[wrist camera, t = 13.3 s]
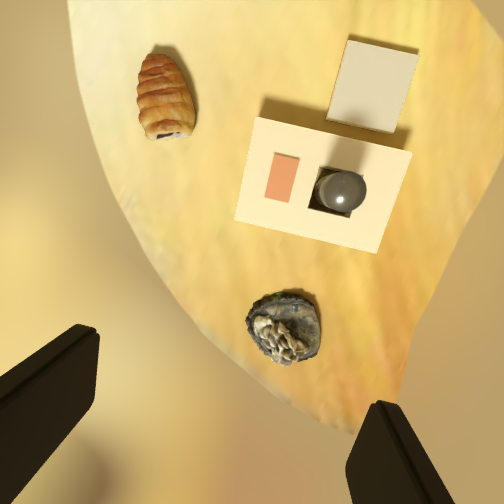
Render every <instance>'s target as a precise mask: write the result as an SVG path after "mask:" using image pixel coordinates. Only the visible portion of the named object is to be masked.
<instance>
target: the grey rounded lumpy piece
mask: <svg viewBox="0 0 504 504" xmlns="http://www.w3.org/2000/svg"><path fill="white" fill-rule="evenodd" d="M245 321H246V324H247V326H248V332H249V334H250V335H251V337H252V338H253V340H254V342H255V343H256V344H257V346H258V347H259V349H260V350H261V351H262V352H264V354H265V355H266V356H270V357H272V358H271V359H272V361H273V362H275V363H281V365H283V366H290V365H291V363H292V360H293V361H297V362H300V361H303V360H307V359H308V358H312V357H314V356H316V355H317V353H318V350H319V348H320V343H321V338H320V325H319V321H318V317H317V314H316V311H315V309H314V305H313V304H312V303H311V302H310V301H309V300H308V299H305V298H304V297H302V296H301V295H299V294H292V293H285V292H281V293H275V294H274V295H271V296H267V297H263V298H262V299H261V300H259V301H257V302H255V303H253V308H252V309H250V311H249V313H248V317H246V320H245Z"/></svg>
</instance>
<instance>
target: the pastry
mask: <svg viewBox="0 0 504 504" xmlns="http://www.w3.org/2000/svg"><path fill="white" fill-rule="evenodd" d="M138 80H139V84H138V86H137V93H138V97H137V104H138V106H139V109H140V114H139V122H140V123H141V124H142V126H143V128H144V130H145V133H146V137H147V138H148V139H149V140H151V141H154V140H158V139H159V140H161V141H167V140H170V139H174V138H179V139H184V138H188V137H189V136H190V135H191V134H192V132H193V129H194V122H195V110H194V107H193V103H192V100H191V95H190V92H189V90H188V88H187V85H186V84H185V81H184V79H183V76H182V74H181V72H180V70H179V68H178V67H177V65H176V63H175V62H174V61H173V60H171V59H170V58H169V57H167V56H166V55H163V54H148V55H147V56H146V59H145V60H144V61H143V63H142V66H141V71H140V73H139V74H138Z"/></svg>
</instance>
